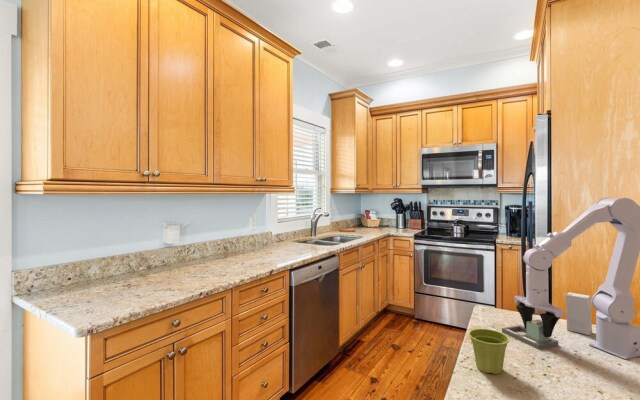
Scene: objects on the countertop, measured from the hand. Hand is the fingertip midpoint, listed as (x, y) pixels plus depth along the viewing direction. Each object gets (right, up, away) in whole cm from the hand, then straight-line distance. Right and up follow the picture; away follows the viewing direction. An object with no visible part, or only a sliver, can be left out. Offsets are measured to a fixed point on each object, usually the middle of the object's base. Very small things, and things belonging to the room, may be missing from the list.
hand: (537, 332), depth 100 cm
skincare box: (+19, -3, +7) cm, 20 cm away
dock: (-1, -3, +3) cm, 4 cm away
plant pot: (-23, -4, -15) cm, 27 cm away
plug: (0, -3, 0) cm, 3 cm away
